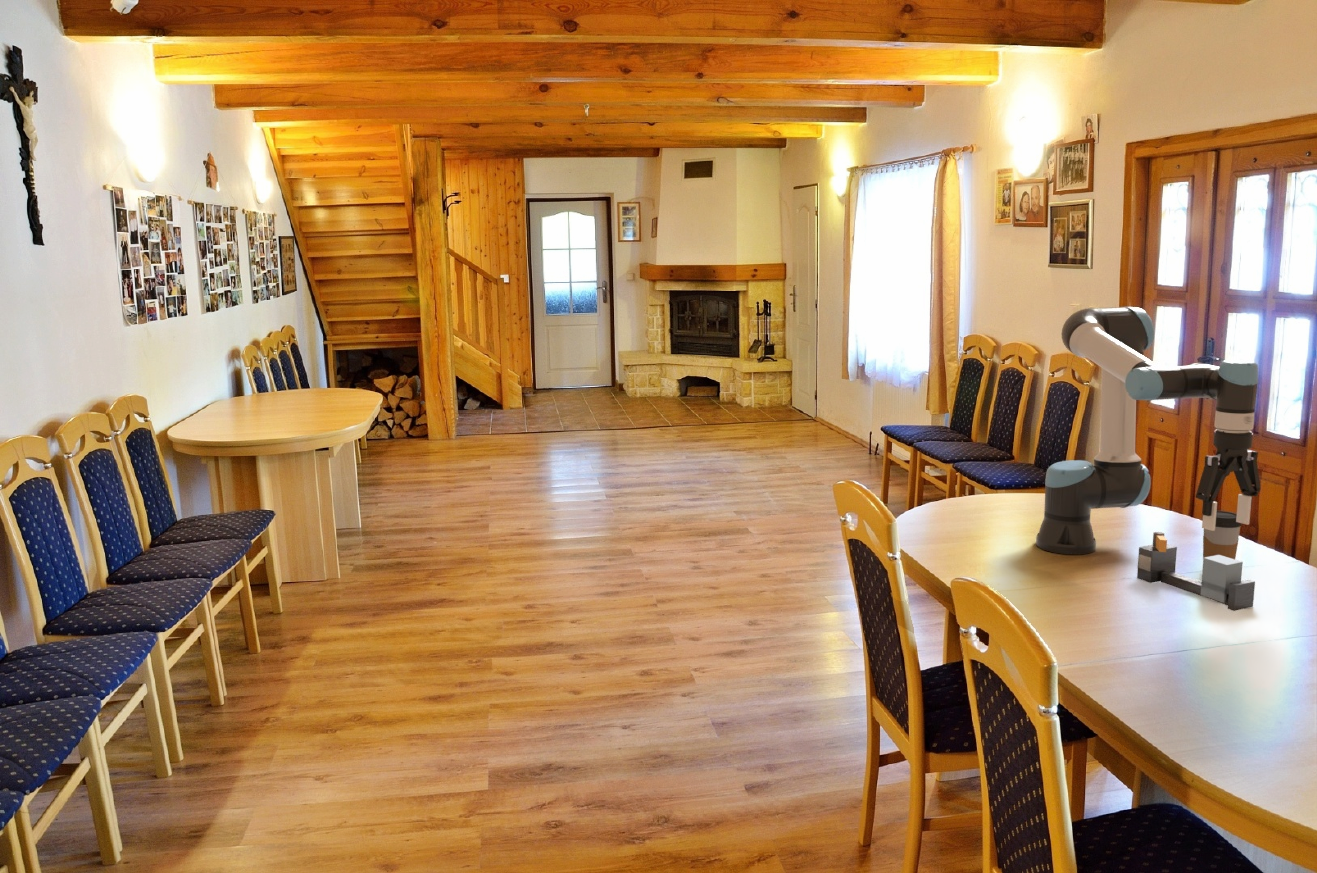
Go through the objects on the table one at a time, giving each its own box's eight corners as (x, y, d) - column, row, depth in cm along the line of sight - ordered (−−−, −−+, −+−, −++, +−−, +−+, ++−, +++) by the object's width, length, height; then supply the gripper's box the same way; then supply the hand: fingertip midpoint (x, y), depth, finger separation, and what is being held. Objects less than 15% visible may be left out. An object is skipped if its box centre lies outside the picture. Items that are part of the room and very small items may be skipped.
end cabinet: (1136, 578, 243) (1138, 547, 241) (1160, 573, 246) (1163, 542, 244) (1150, 583, 239) (1152, 551, 238) (1174, 578, 242) (1176, 547, 241)
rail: (1160, 582, 240) (1161, 572, 239) (1167, 580, 241) (1168, 570, 240) (1231, 606, 222) (1232, 596, 222) (1239, 605, 223) (1240, 594, 223)
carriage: (1200, 594, 228) (1203, 557, 226) (1215, 591, 230) (1218, 554, 228) (1223, 603, 223) (1226, 565, 221) (1239, 599, 224) (1242, 561, 223)
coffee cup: (1242, 578, 241) (1247, 519, 238) (1205, 577, 242) (1210, 518, 240) (1230, 567, 249) (1235, 510, 246) (1194, 566, 250) (1198, 509, 248)
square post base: (1227, 608, 221) (1229, 583, 220) (1246, 604, 224) (1248, 579, 222) (1234, 611, 220) (1236, 585, 219) (1252, 606, 222) (1255, 581, 221)
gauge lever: (1157, 551, 236) (1158, 539, 236) (1151, 544, 242) (1152, 531, 242) (1168, 552, 236) (1169, 539, 235) (1162, 544, 242) (1163, 532, 241)
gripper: (1211, 437, 211) (1204, 536, 216) (1285, 427, 220) (1276, 523, 224) (1181, 432, 218) (1174, 528, 222) (1253, 422, 227) (1245, 516, 231)
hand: (1225, 526), depth 223 cm, fingers open, 10 cm apart
